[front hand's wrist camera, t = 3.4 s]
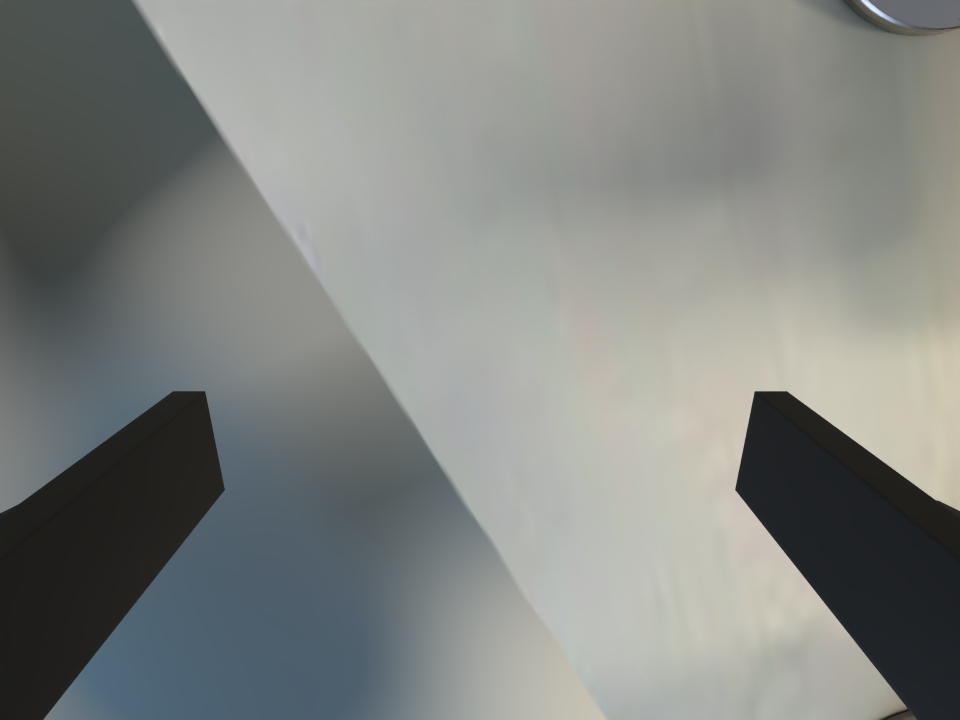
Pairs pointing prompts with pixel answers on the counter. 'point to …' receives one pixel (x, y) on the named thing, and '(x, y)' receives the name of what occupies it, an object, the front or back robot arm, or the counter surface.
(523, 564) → the counter surface
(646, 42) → the counter surface
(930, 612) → the front robot arm
